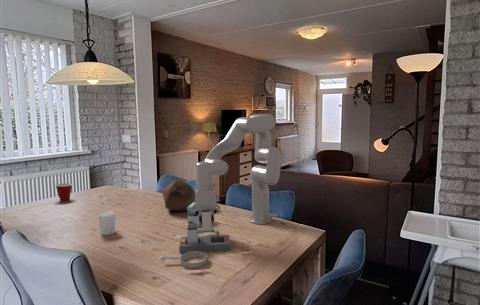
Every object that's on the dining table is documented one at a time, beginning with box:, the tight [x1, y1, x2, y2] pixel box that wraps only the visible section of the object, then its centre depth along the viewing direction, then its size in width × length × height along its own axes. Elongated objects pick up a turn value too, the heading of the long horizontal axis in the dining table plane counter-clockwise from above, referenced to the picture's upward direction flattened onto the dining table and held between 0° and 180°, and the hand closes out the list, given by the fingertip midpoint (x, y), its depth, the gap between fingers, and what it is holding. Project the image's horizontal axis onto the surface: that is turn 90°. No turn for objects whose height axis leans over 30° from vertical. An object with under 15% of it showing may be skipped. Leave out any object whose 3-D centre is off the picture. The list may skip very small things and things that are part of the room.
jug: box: [162, 179, 196, 212], centre depth 196 cm, size 20×20×30 cm
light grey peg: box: [186, 224, 199, 244], centre depth 138 cm, size 4×4×10 cm
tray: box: [198, 227, 218, 236], centre depth 153 cm, size 11×11×2 cm
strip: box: [178, 234, 232, 254], centre depth 139 cm, size 22×10×5 cm, turn 96°
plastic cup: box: [55, 182, 74, 203], centre depth 221 cm, size 11×11×12 cm
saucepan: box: [161, 251, 208, 271], centre depth 125 cm, size 11×18×4 cm, turn 92°
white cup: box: [98, 211, 116, 236], centre depth 160 cm, size 8×8×10 cm
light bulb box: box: [186, 202, 202, 227], centre depth 172 cm, size 11×7×11 cm, turn 168°
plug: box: [201, 210, 213, 230], centre depth 153 cm, size 4×4×10 cm
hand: (206, 222), depth 153 cm, fingers closed on plug, 4 cm apart
